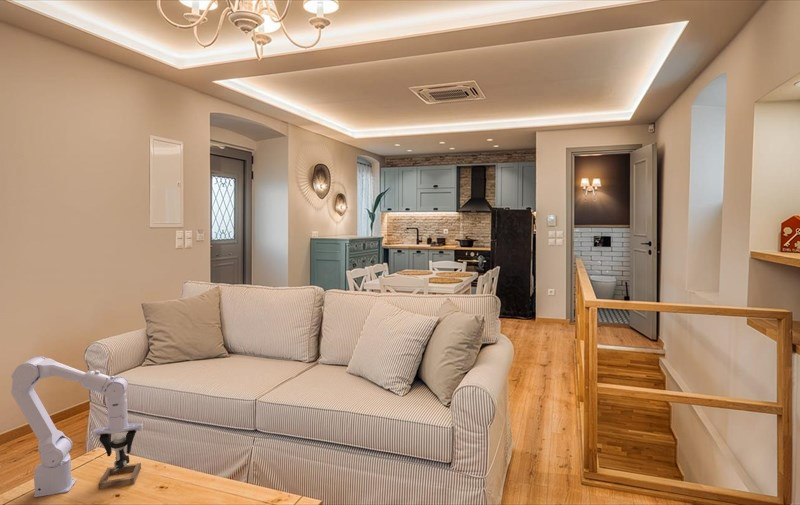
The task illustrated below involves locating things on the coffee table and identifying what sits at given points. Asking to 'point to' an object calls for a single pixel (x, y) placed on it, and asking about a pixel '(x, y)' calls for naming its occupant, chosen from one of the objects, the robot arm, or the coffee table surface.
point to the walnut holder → (123, 481)
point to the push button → (120, 452)
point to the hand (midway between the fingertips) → (119, 453)
